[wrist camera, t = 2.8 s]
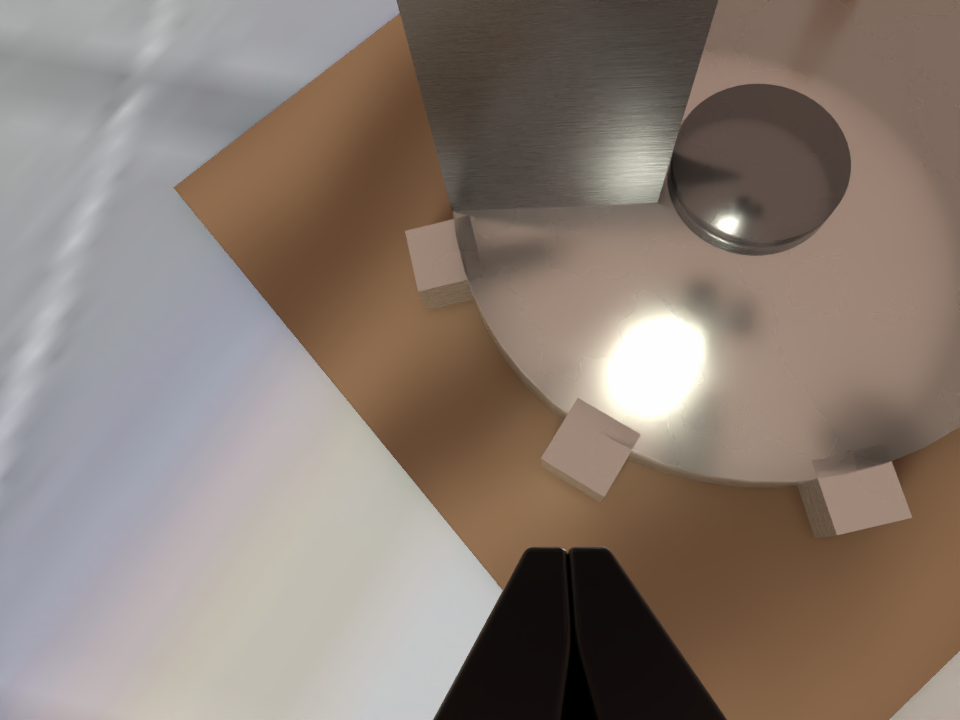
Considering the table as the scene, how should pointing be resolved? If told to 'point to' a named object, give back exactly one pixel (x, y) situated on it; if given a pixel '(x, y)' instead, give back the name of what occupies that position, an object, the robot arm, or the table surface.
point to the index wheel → (707, 231)
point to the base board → (532, 425)
